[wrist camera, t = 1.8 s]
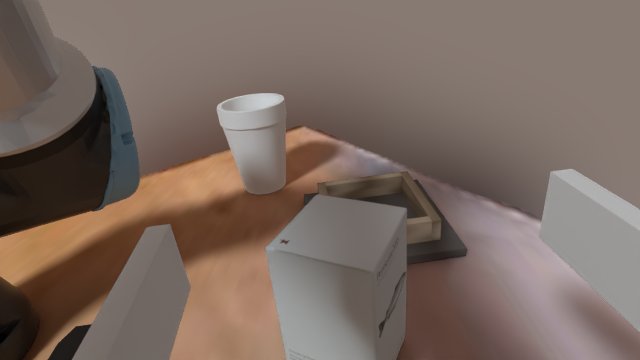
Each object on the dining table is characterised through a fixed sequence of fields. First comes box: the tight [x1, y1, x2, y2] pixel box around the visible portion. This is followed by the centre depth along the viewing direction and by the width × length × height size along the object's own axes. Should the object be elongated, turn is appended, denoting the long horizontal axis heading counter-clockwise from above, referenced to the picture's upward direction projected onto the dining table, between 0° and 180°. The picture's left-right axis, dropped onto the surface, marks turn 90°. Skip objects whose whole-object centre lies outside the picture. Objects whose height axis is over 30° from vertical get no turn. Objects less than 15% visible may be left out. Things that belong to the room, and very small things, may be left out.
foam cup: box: [217, 93, 287, 195], centre depth 57 cm, size 10×9×13 cm
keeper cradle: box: [304, 172, 466, 264], centre depth 46 cm, size 16×16×4 cm
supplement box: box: [265, 194, 407, 360], centre depth 28 cm, size 7×7×13 cm
